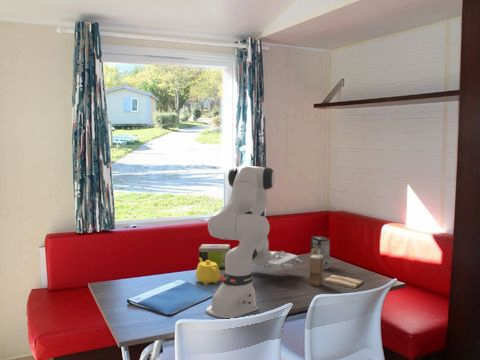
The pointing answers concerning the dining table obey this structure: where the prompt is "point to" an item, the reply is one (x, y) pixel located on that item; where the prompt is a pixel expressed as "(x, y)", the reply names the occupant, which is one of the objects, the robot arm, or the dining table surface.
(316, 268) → the walnut post
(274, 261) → the robot arm
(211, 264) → the teapot
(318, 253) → the coffee box
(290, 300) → the dining table surface
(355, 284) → the beige flat slab
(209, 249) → the tea box
